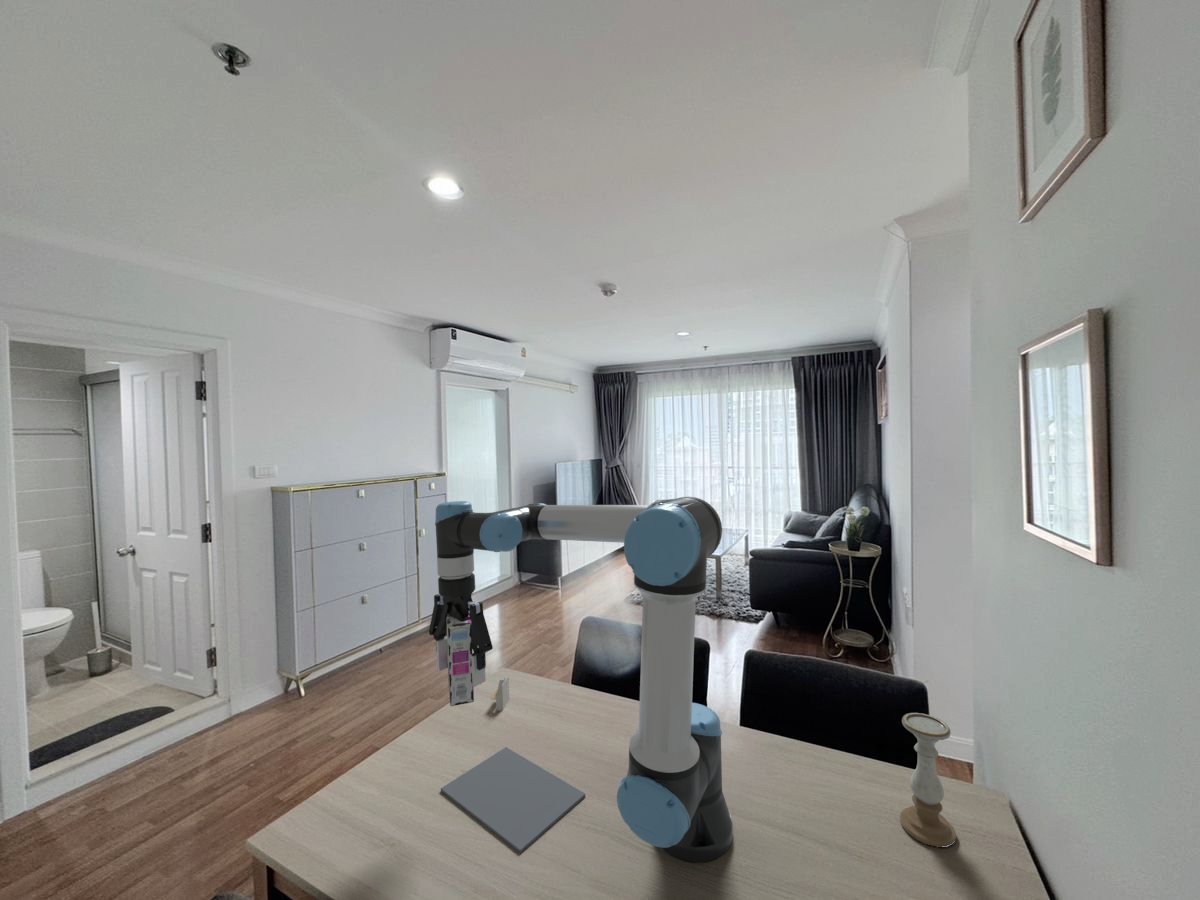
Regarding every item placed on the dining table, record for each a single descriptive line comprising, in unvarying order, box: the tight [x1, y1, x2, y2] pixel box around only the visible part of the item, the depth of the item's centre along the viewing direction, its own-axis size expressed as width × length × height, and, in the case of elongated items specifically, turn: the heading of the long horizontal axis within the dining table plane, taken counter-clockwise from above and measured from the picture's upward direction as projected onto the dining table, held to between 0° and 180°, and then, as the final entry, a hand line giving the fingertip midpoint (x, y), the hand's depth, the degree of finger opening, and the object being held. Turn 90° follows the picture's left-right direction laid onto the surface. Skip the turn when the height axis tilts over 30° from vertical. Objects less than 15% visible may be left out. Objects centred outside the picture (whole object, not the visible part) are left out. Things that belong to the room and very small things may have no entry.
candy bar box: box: [446, 615, 475, 707], centre depth 104 cm, size 11×5×16 cm, turn 19°
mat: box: [440, 746, 586, 854], centre depth 105 cm, size 26×18×1 cm
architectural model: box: [490, 675, 510, 712], centre depth 141 cm, size 3×7×7 cm, turn 172°
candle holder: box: [899, 712, 957, 848], centre depth 92 cm, size 9×9×20 cm
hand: (460, 676), depth 104 cm, fingers closed on candy bar box, 12 cm apart
